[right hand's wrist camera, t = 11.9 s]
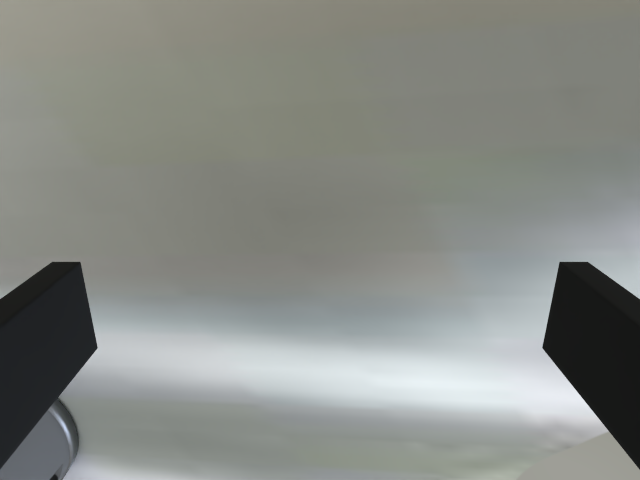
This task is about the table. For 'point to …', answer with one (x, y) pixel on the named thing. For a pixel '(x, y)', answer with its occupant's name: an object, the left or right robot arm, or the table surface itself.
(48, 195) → the table surface
